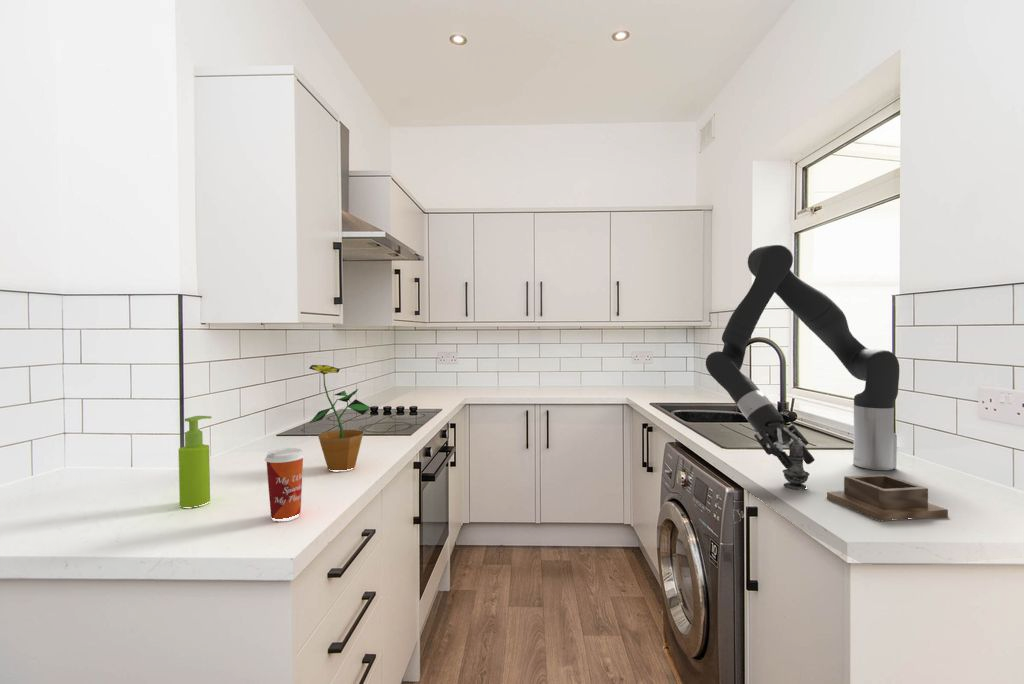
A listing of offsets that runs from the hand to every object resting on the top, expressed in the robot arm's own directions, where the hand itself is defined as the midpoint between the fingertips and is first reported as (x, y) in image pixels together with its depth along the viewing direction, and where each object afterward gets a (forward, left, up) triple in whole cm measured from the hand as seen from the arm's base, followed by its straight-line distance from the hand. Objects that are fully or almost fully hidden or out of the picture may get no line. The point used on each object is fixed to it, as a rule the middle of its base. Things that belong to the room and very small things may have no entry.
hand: (801, 464), depth 123 cm
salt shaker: (0, -1, -6) cm, 6 cm away
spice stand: (-9, +15, -6) cm, 18 cm away
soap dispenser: (+143, -11, -6) cm, 144 cm away
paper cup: (+120, +1, -6) cm, 121 cm away
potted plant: (+116, -36, -6) cm, 122 cm away
